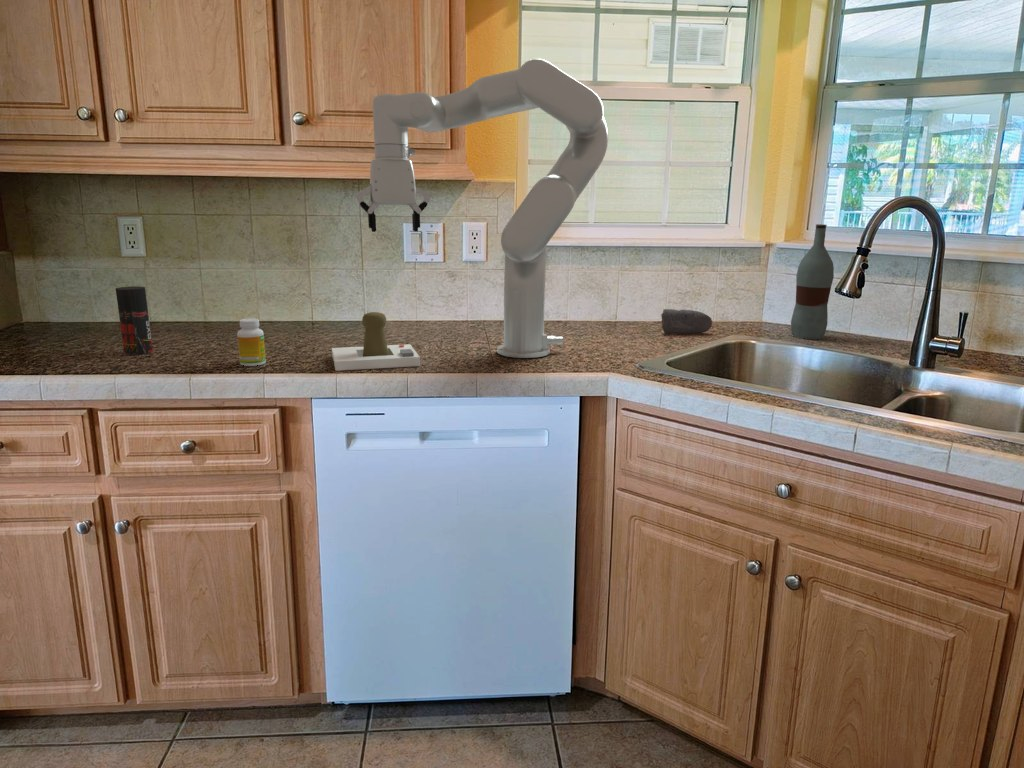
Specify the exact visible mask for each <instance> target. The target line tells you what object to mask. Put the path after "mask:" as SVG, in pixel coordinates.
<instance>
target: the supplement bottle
mask: <svg viewBox="0 0 1024 768" xmlns="http://www.w3.org/2000/svg"><path fill="white" fill-rule="evenodd" d="M239 327H240V328H241V329H239V330H238V331H237V333H236V334H237V335H236V336H237V345H238V347H237V348H238V357H239V365H241V366H243V365H244V367H257V365H258V366H261V365H262V366H263V365H265V364H266V363H267V359H266V347H265V334H264V331H263V330H262V328H259V327H260V320H259V318H243V319H239Z"/></svg>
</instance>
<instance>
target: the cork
mask: <svg viewBox="0 0 1024 768" xmlns="http://www.w3.org/2000/svg"><path fill="white" fill-rule="evenodd" d="M361 322H362V325H363V327H364V339H363V347H364V349H363V357H368V356H387V355H389V354H388V348H387V345H388V342H387V337H386V331H385V327H386V324H387V317H386V315H385V314H384V313H383V312H378V311H372V312H367V313H364V314H363V316H362V320H361Z"/></svg>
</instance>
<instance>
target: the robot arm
mask: <svg viewBox="0 0 1024 768" xmlns="http://www.w3.org/2000/svg"><path fill="white" fill-rule="evenodd" d="M535 109H540V110H542V111H544V112H545V113H546V114H548V115H549V116H551V117H552V118H554V119H556V120H557V121H558V122H560V123H562V124H563V125H564V126H566V129H567V130H568V132H569V134H570V135H569V140H568V143H567V146H566V147H565V149H563V152H562V153H561V154H560V156H559V157H558V159H557V161H556V162H555V163H554V164H553V166H552V167H551V169H550V170H549V172H548V173H547V174H546V175H545V176H543V177H542V178H540V179H539V180H538V181H536V183H535V184H534V185H533V186H532V188H531V189H530V190H529V191H528V193H527V195H526V196H525V197H524V199H522V200H523V201H522V202H521V203H520V205H519V206H518V208H517V209H516V210H515V212H514V213H513V215H512V216H511V218H509V220H508V222H507V223H506V225H505V226H504V228H503V229H502V232H501V234H500V235H501V236H500V246H501V249H502V251H503V252H504V272H503V273H504V277H503V278H504V279H503V282H504V283H503V284H504V285H503V286H504V287H503V344H502V345H501V344H500V345H498V346H497V348H496V352H497V354H498V355H500V356H503V357H507V358H508V357H509V358H518V359H534V358H541V357H545V356H548V355H550V353H551V348H550V346H551V345H563V343H564V337H563V336H561V335H560V336H555V335H548V334H546V333H544V331H545V299H546V298H545V292H546V291H545V290H546V289H545V288H546V266H547V264H546V262H547V247H548V245H547V244H548V243H549V242H550V241H551V239H552V238H553V236H554V235H555V234H556V233H557V231H558V230H559V229H560V227H561V226H562V224H563V223H564V221H565V220H566V219H567V217H568V216H569V214H570V213H571V212H572V210H573V208H574V206H575V204H576V201H577V200H578V199H579V197H580V196H581V194H582V192H583V191H584V189H585V188H586V187H587V186H588V184H589V182H590V181H591V179H593V177H594V175H595V173H596V172H597V171H598V169H599V168H600V166H601V164H602V163H603V161H604V158H605V156H606V153H607V150H608V149H607V148H608V143H609V131H608V126H607V122H606V119H605V117H604V111H605V109H604V104H603V102H602V100H601V98H600V96H599V95H598V93H596V92H595V91H594V90H592V89H591V88H589V87H588V86H586V85H585V84H583V83H581V82H580V81H578V80H576V79H575V78H574V77H572V76H571V75H569V74H567V73H566V72H565V71H563V70H561V69H560V68H558V67H557V66H556V65H554V64H553V63H551V62H550V61H548V60H545V59H543V58H531V59H529V60H527V61H526V62H524V63H523V64H522V65H521V66H520V68H518V69H517V68H516V69H514V70H513V69H512V70H508V71H504V72H500V73H494V74H491V75H486V76H482V77H480V78H477V79H476V80H475V81H473V83H472V84H470V85H469V86H468V87H466V88H464V89H461V90H458V91H455V92H452V93H448V94H447V93H446V94H444V95H439V96H432V95H431V94H428V93H426V92H424V91H416V92H410V93H406V94H405V93H403V94H393V93H392V94H391V93H384V94H383V93H382V94H378V95H376V96H374V98H373V100H372V120H373V142H374V143H373V144H374V159H372V160H371V162H370V169H369V170H370V171H369V172H370V174H369V185H368V186H367V187H365V188H364V189H362V190H359V191H358V192H356V193H354V197H355V199H356V201H357V203H358V204H359V206H360V207H361V208H362V209H363V210H364V211H365V212H366V213H367V218H368V219H367V221H368V229H371V232H372V233H376V232H377V222H376V221H377V218H376V217H377V216H376V214H375V211H376V209H377V208H378V206H409V207H410V209H411V210H412V211H413V213H412V214H411V217H412V218H411V220H412V223H411V224H412V231H413V232H419V228H421V213H423V211H424V210H425V209H426V207H427V206H428V204H429V202H430V199H431V198H432V195H431V194H430V193H429V192H428V191H426V190H423V189H421V188H419V187H418V186H416V179H415V171H414V167H413V162H412V160H410V159H409V158H410V157H412V156H415V155H416V151H415V148H411V147H410V146H409V132H408V131H409V129H408V128H413V129H416V130H420V131H422V132H426V133H438V132H443V131H447V130H451V129H457V128H460V127H464V126H469V125H471V124H474V123H475V124H476V123H479V122H484V121H488V120H490V119H494V118H499V117H503V116H507V115H510V114H516V113H521V112H524V111H529V110H530V111H531V110H535ZM368 194H369V196H370V197H369V198H370V202H371V203H370V204H369V205H368V204H367V203H366V202H365V201H364V199H363V198H364V196H366V195H368ZM417 194H418V195H419V196H421V197H422V201H421V202H420V203H419V205H418V204H417Z"/></svg>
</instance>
